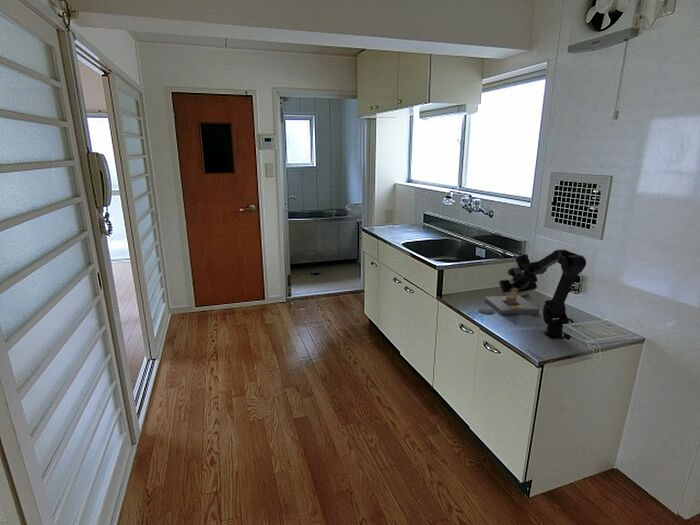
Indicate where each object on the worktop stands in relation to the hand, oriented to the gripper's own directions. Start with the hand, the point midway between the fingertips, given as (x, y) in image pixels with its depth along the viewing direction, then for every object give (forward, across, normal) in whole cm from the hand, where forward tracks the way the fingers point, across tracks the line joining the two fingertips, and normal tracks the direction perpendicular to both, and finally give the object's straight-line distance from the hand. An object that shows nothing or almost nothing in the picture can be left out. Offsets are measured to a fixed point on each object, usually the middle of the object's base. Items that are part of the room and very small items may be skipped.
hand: (510, 291), depth 209 cm
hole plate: (+5, 0, +7) cm, 9 cm away
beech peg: (+5, 0, +7) cm, 9 cm away
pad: (+2, +16, +10) cm, 19 cm away
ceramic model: (+20, -15, -7) cm, 26 cm away
